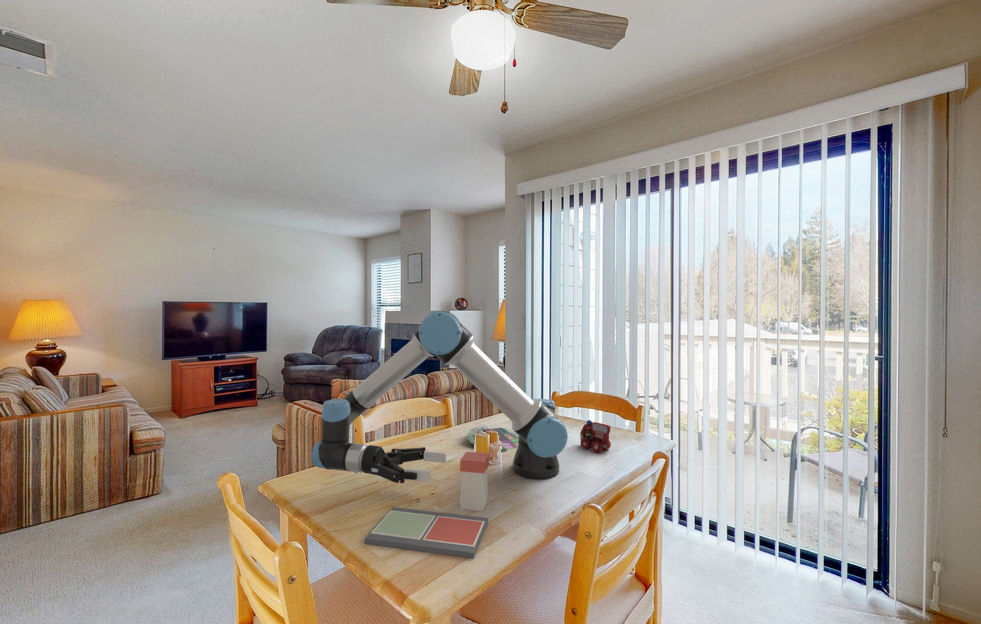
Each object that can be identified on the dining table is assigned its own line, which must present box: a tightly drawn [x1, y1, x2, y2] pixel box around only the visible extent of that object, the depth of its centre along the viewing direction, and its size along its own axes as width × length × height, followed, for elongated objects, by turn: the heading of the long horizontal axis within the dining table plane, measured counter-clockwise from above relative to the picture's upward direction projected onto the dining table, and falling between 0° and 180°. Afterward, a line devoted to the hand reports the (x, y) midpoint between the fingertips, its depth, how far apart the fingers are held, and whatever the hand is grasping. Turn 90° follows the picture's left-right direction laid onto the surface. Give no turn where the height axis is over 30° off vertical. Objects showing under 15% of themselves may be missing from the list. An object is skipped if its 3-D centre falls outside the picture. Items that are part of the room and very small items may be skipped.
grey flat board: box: [364, 506, 489, 559], centre depth 100 cm, size 25×15×1 cm, turn 79°
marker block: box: [459, 451, 490, 512], centre depth 114 cm, size 6×6×13 cm
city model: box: [465, 425, 519, 453], centre depth 166 cm, size 25×23×6 cm
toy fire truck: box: [579, 419, 611, 454], centre depth 160 cm, size 7×12×10 cm, turn 41°
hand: (438, 466), depth 116 cm, fingers open, 13 cm apart
